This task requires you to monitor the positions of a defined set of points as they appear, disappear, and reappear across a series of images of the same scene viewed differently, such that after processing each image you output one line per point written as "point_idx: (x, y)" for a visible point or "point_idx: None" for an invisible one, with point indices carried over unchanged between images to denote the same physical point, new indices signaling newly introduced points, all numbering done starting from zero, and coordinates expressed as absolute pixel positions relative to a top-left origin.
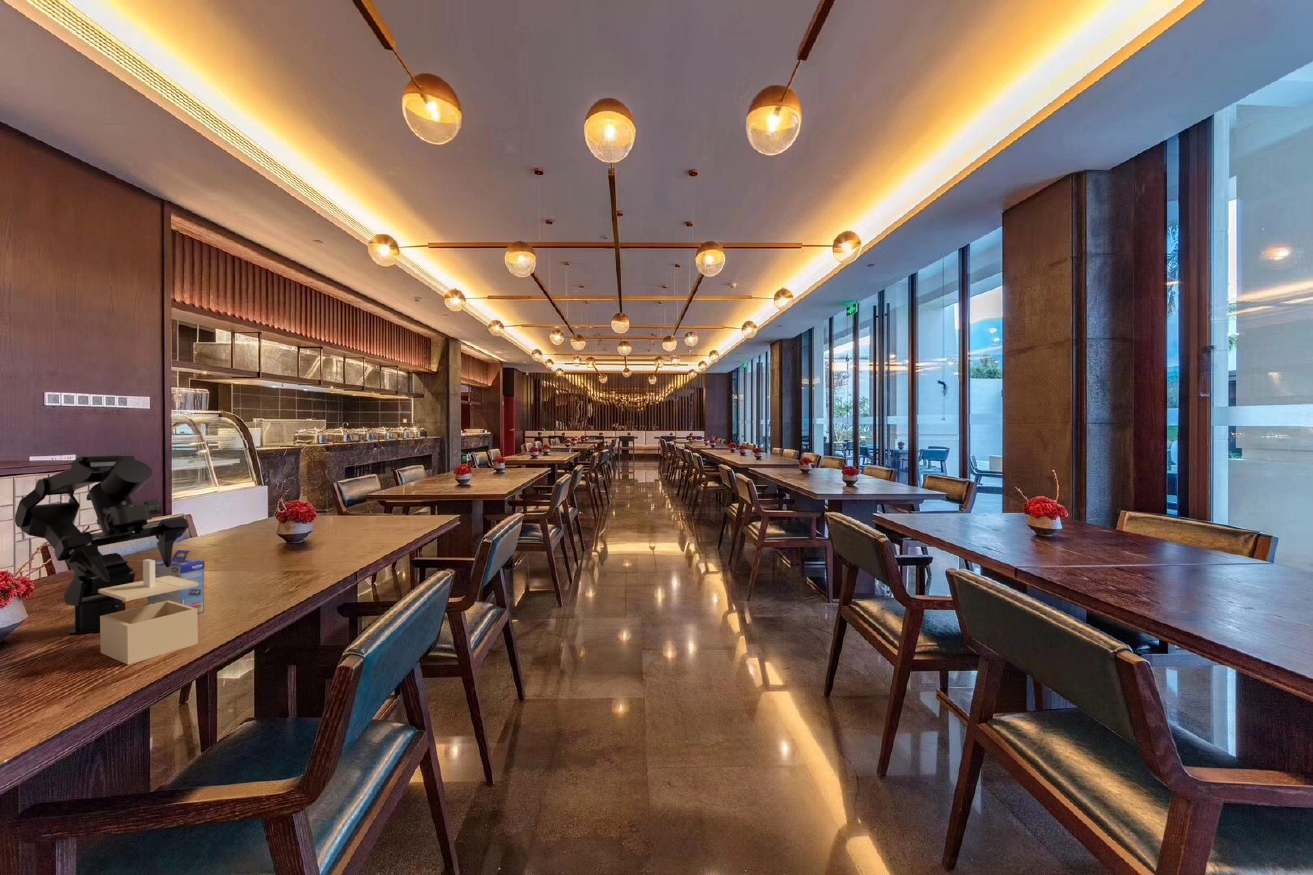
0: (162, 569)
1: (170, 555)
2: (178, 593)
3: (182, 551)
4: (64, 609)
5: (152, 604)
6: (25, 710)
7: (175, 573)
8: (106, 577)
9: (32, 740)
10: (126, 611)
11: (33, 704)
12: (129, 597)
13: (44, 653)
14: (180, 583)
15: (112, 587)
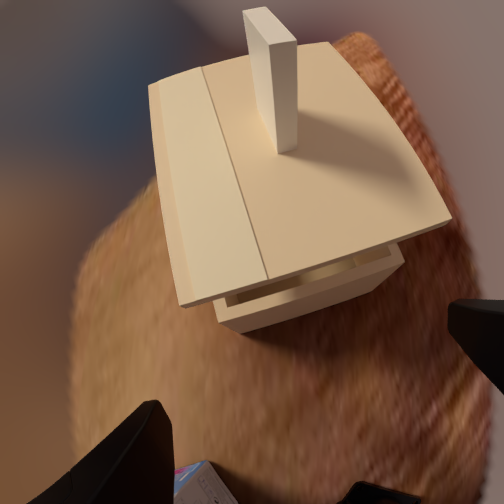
0: None
1: (109, 439)
2: (184, 492)
3: None
4: None
5: (269, 300)
6: (398, 92)
7: None
8: (464, 300)
9: (360, 36)
10: (342, 272)
11: (397, 102)
12: (319, 43)
13: (457, 380)
14: (186, 94)
15: (410, 210)
